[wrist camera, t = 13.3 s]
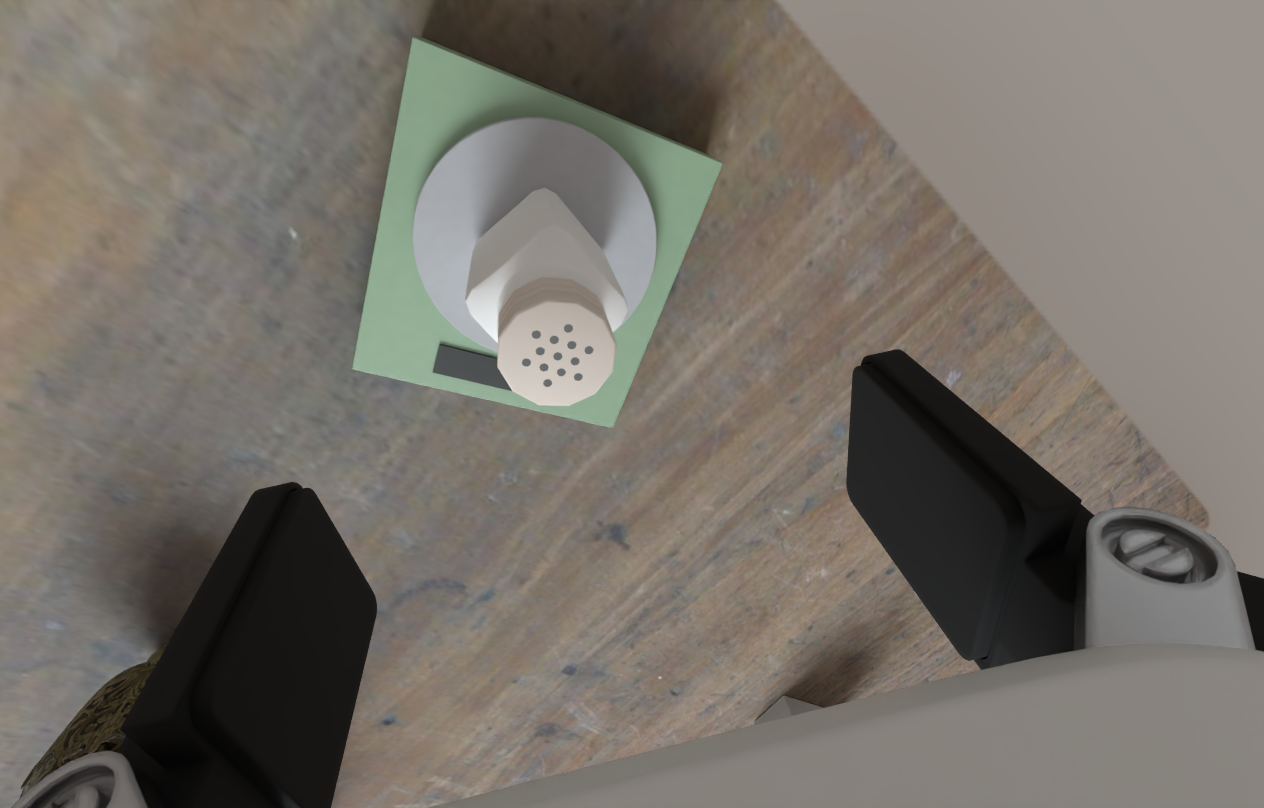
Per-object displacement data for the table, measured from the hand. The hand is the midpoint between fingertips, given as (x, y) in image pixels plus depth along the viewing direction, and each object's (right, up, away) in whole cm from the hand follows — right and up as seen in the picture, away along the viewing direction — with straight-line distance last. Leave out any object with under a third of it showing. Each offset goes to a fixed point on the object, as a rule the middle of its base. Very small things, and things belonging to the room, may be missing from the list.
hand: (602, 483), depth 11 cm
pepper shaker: (-3, +8, +14) cm, 16 cm away
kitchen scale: (-4, +8, +16) cm, 19 cm away
